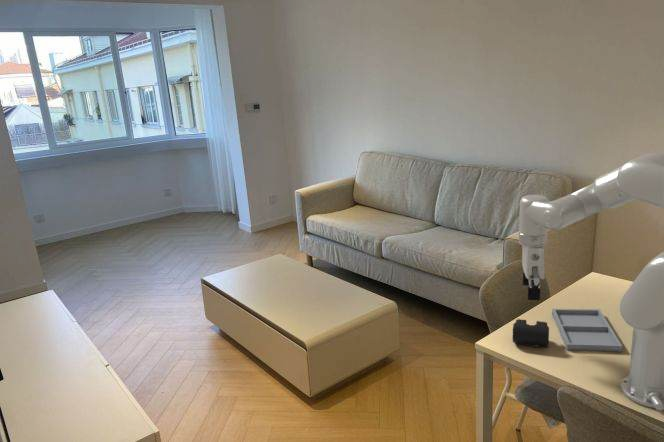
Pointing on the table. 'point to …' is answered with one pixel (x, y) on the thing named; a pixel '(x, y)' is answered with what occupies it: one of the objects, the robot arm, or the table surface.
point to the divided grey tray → (586, 330)
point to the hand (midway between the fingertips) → (530, 292)
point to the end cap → (531, 333)
